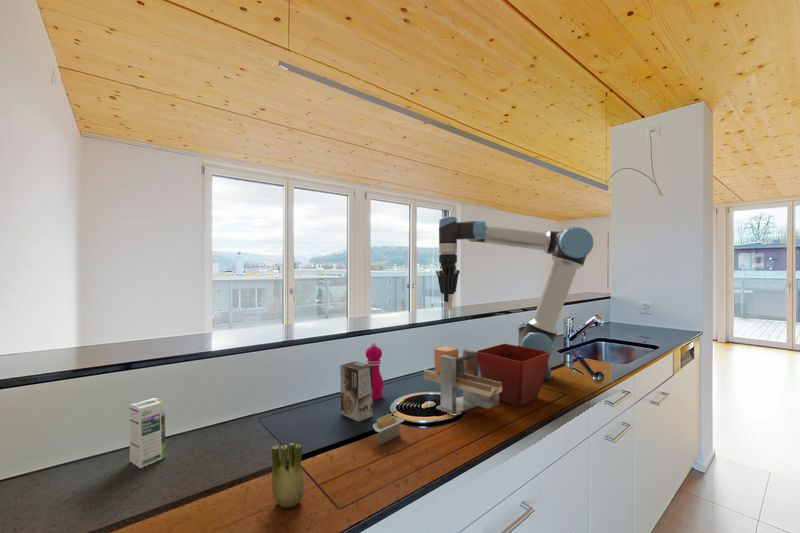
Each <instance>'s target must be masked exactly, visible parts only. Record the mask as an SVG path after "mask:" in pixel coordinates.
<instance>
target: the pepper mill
mask: <svg viewBox="0 0 800 533" xmlns="http://www.w3.org/2000/svg"><path fill="white" fill-rule="evenodd" d="M365 356H366V359H367V360H366V364H367V365H371V366H373V367H372V384H373V401H374V400H375V401H377V400H380V399H382V398H383V395H384V394H383V393H384V392H383V391H382V390H383V389H384V387H385V384H384V383H385V382H384V379H383V376H382V374H381V372H380V365H381V362H382V361H381V358H382V356H383V351H382V349H381V348H380V347H379V346H377V343H376V342H375V341H374V342H372V343H371V345H370V346H369V347H368V348H367V349H366V351H365Z"/></svg>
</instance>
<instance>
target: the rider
mask: <svg viewBox="0 0 800 533" xmlns="http://www.w3.org/2000/svg"><path fill="white" fill-rule="evenodd" d="M433 352H434V354H433V355H434V367H435V372H437V373H440V356H442V355H447V356H451V357H455V358H459V355H460V354H459V348H456V347H451V346H446V345H445V346H442V347H437V348H434V349H433Z"/></svg>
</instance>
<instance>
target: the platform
mask: <svg viewBox="0 0 800 533" xmlns="http://www.w3.org/2000/svg"><path fill="white" fill-rule="evenodd" d="M392 415H393V413H389V414H386V415H383V416H381V417H380V418H376V422H375V423H373V424H372V428H373V429H374V431H375V432H378V446H380V445H383V444H385V443H386V442H388V441H391V440H393V439H395V438H397V437H398V436H400V435H401V434H400V433H401V423H402V422H405V418H404V417H402V416H401V417H400V416H397V415H396V414H394V415H393V416H392Z"/></svg>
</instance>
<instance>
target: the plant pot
mask: <svg viewBox="0 0 800 533" xmlns="http://www.w3.org/2000/svg"><path fill="white" fill-rule="evenodd" d="M477 351H478V370H479V372H480V377H482V378H486V379H490V380H495V381H499V382H502V392H500V393H499V402H503V403H506V404H508V405H512V406H515V407H522V406H523V405H526V404H527V403H529V402H532V401H533V400H535V399H538V397H539V395H540V392H541V389H542V386H543V383H544V377H545V374H546V370H547V365H548V363H549V359H550V358H549V352H547V351H541V350H536V349H531V348H526V347H521V346H519V345H514V344H509V343H500V344H498V345H495V346H490V347H486V348H483V349H479V350H477Z"/></svg>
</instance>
